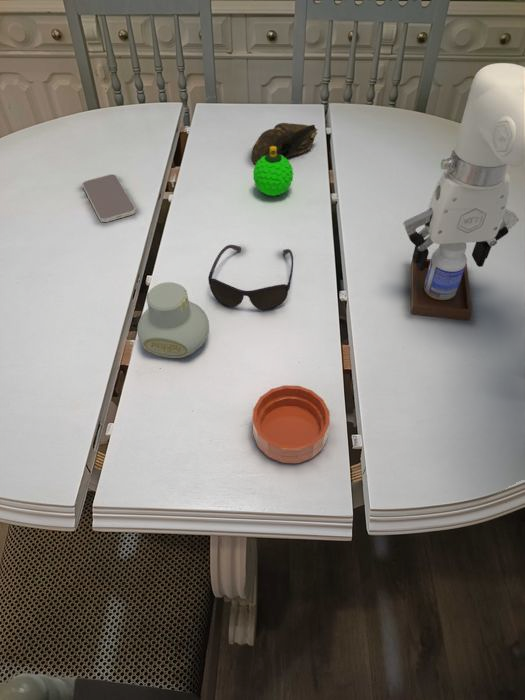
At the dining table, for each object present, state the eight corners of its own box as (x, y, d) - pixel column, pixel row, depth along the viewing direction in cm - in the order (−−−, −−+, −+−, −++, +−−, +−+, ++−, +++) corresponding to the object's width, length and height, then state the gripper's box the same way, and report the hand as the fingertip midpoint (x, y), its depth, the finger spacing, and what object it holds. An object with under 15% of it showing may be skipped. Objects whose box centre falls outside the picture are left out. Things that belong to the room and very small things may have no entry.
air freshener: (134, 356, 82) (120, 310, 74) (151, 318, 87) (139, 271, 80) (203, 365, 81) (195, 319, 73) (215, 326, 86) (210, 279, 78)
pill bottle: (462, 296, 89) (479, 250, 82) (434, 304, 88) (449, 258, 80) (443, 276, 92) (458, 230, 85) (416, 284, 91) (429, 238, 84)
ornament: (254, 204, 108) (252, 159, 100) (253, 182, 113) (251, 137, 106) (294, 203, 108) (295, 157, 100) (291, 181, 113) (292, 136, 106)
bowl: (337, 417, 74) (340, 400, 71) (310, 476, 68) (312, 461, 65) (272, 393, 77) (272, 376, 74) (241, 448, 71) (239, 432, 68)
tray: (468, 320, 86) (472, 311, 84) (410, 314, 87) (413, 305, 86) (463, 271, 94) (466, 262, 92) (410, 266, 95) (412, 257, 93)
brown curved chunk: (263, 170, 115) (258, 138, 111) (243, 161, 122) (238, 130, 118) (325, 148, 121) (322, 116, 116) (302, 141, 127) (299, 110, 123)
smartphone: (100, 220, 104) (80, 182, 112) (101, 224, 104) (81, 186, 113) (136, 209, 106) (114, 173, 114) (137, 213, 106) (115, 177, 115)
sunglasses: (206, 307, 89) (203, 285, 85) (224, 248, 99) (222, 226, 95) (287, 315, 87) (288, 292, 84) (296, 254, 97) (297, 231, 94)
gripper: (424, 184, 70) (400, 282, 83) (552, 176, 71) (509, 275, 83) (409, 155, 75) (389, 252, 88) (529, 148, 75) (491, 245, 88)
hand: (447, 263), depth 86 cm, fingers open, 9 cm apart
